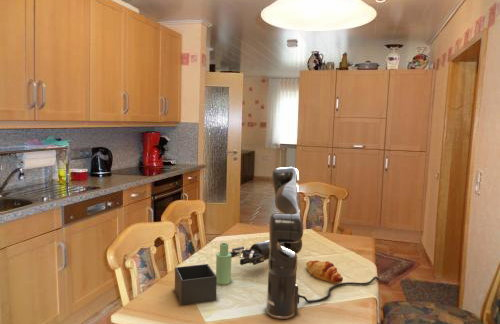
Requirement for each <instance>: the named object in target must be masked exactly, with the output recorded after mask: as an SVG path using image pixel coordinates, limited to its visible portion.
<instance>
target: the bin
mask: <svg viewBox="0 0 500 324" xmlns="http://www.w3.org/2000/svg"><path fill="white" fill-rule="evenodd" d="M174 292H175V294H176V296H177V299H178V301H179V303H180V306H187V305H192V304H193V305H194V304H200V303H208V302H214V301H217V276H216V273H215V272H214V271H213V269H212V268H211V266H210V265H209V264H208V263H204V264H203V263H202V264H195V265H185V266H177V267H174Z"/></svg>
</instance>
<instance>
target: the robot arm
mask: <svg viewBox="0 0 500 324" xmlns="http://www.w3.org/2000/svg"><path fill="white" fill-rule="evenodd" d="M271 177H272V185H273V186H272V187H273V191H274V195H275V197H274V198H275V199H274V204H275V208H276V210H277V211H278V212H274V213H272V214H271V215H270V217H269V222H268V232H269V235H268V236H269V237H268V238H269V240H265V241H260V242H257V243H253V244H251V246H250V247H249V248H245V246H239V247H234V248H232V249H231V251H228V252H229V253H231V259H232V258H239V265H241V266H244V265H247V264H250V265H251V264H252V265H253V266H255V265H259V264H261V263H264V262H265V261H267V260H268V265H267V270H268V271H267V293H266V297H267V298H266V309H265V310H266V311H265V312H266V314H267V315H268V316H269V317H271V318H274V319H277V320H289V319H291V318H293V317H294V316H295V315H298V305H299V304H300V298H301V299H303V300H304V301H305V302H306V303H309V304H311V303H319V302H323V301H325V300H327V299H329V298H330V297H331V292H332V290H333V289H335V288H337V287H339V286H340V287H341V286H346V285H358V286H360V285H361V286H365V285H370V284H371V283H372V282H374V281H375V280H380V278H379V277H378V276H374V277H373V278H371V279H370V280H369V281H366V282H356V281H355V282H353V281H352V282H351V281H350V282H349V281H348V282H339V283H336V284H334V285H332V286H331V287H329V289H328V291H327V292H328V293H327V295H326V296H324V297H321V298H319V299H313V300H309V299H307V297H306V296H304V295H301V294H300V293H299V286H298V285H297V272H298V270H297V269H298V255H297V254H299V253H301V251H302V248H303V239H302V238H303V236H304V222H303V216H302V211H301V195H300V189H299V188H300V187H299V186H300V175H299V170H298V169H297V168H295V167H293V166H289V167H278V168H277V167H276V168H274V169H273V170H272V175H271Z"/></svg>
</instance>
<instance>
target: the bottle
mask: <svg viewBox="0 0 500 324" xmlns="http://www.w3.org/2000/svg"><path fill="white" fill-rule="evenodd" d="M229 252H230V251H229V243H227V242H221V243H220V244H219V252H217V253H216V255H215V257H216V258H215V260H216V261H215V275H216V276H217V284H218V285H222V286H223V285H225V286H227V285H229V284H230V283H231V282H232V281H231V280H232V258H231V253H229Z"/></svg>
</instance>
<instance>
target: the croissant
mask: <svg viewBox="0 0 500 324" xmlns="http://www.w3.org/2000/svg"><path fill="white" fill-rule="evenodd" d="M305 265H306V269H307V271H308V272H309V273H310V275H311V276H312V277H315V278H316V279H319V280H323V281H327V282H330V283H335V284H339V283H342V282H343V280H344V278H343V276H341V273H339V271H338V268H337V267H335V265H334V263H333V262H331V261H329V260H308V261H306V264H305Z"/></svg>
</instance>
